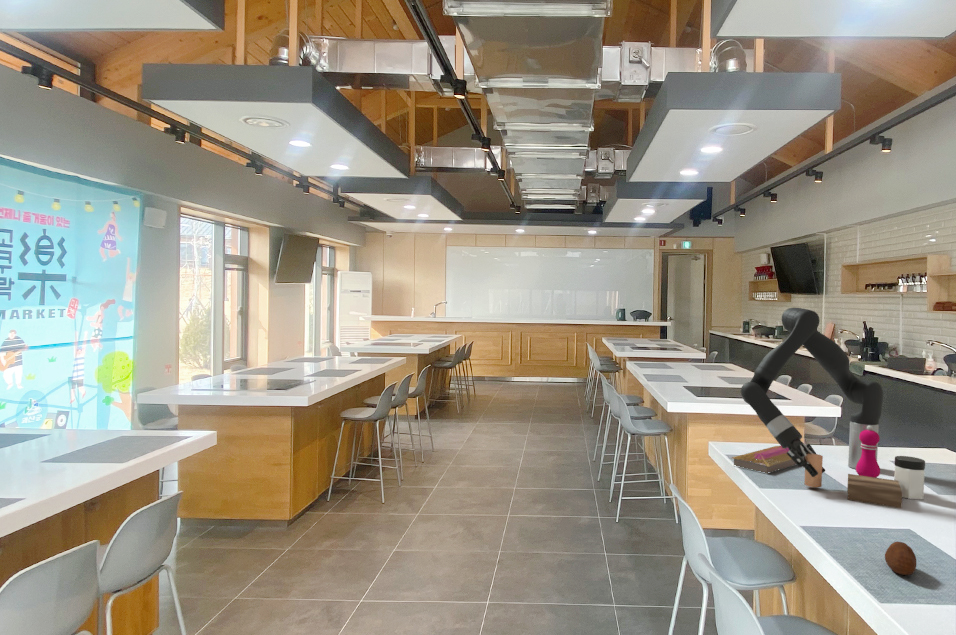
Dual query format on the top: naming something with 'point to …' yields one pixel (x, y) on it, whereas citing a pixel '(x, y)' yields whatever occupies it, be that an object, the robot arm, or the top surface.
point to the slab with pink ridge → (765, 459)
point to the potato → (901, 558)
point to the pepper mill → (868, 454)
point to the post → (817, 464)
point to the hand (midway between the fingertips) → (819, 473)
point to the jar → (910, 476)
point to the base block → (874, 490)
